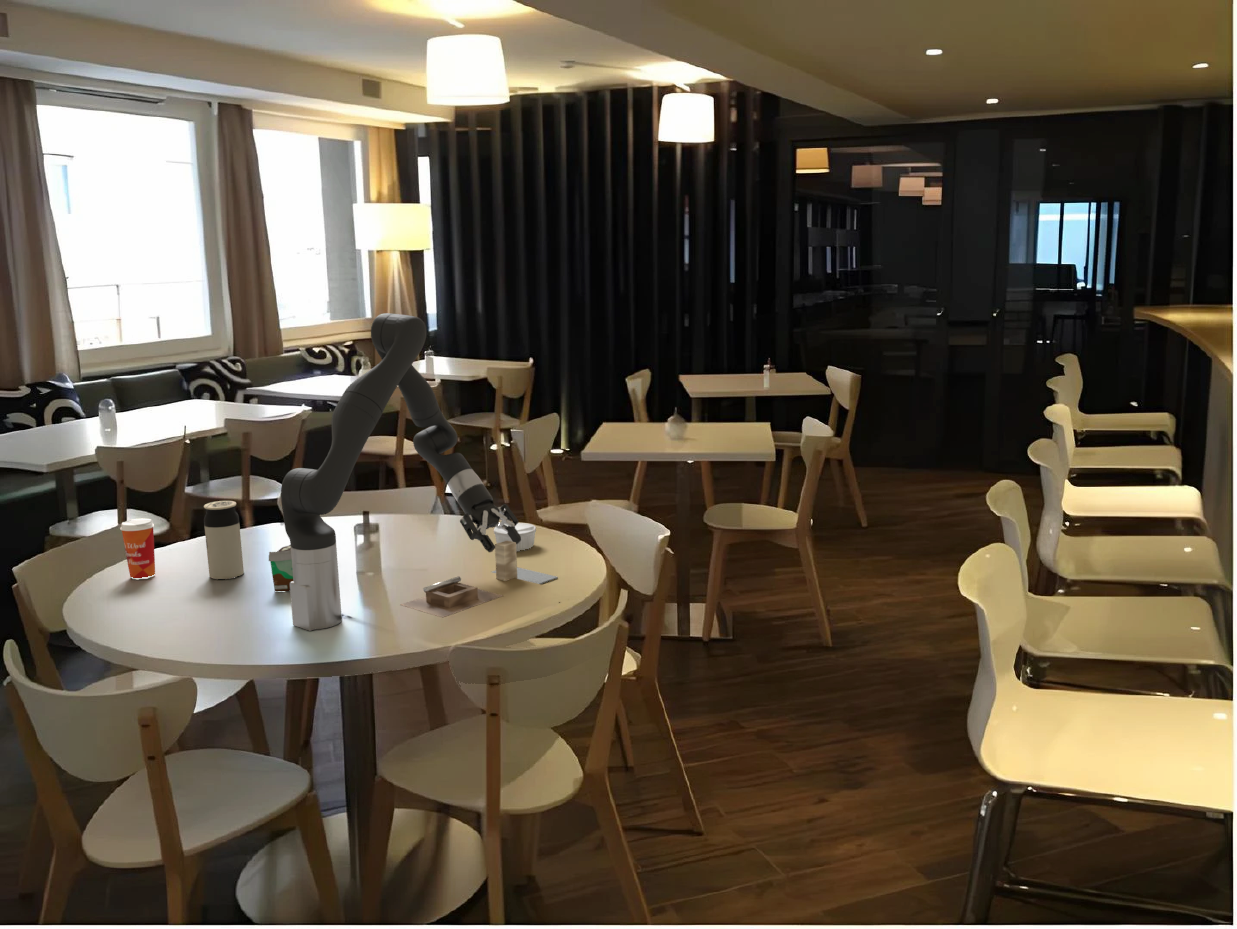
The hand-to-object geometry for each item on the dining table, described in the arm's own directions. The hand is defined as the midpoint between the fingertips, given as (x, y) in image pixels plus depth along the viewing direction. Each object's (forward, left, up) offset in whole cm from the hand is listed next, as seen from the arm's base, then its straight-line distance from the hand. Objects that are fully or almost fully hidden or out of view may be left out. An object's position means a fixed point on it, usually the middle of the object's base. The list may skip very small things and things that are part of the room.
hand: (505, 546), depth 252 cm
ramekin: (+23, +20, -9) cm, 32 cm away
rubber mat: (0, 0, -9) cm, 9 cm away
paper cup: (-50, +76, -9) cm, 91 cm away
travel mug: (-37, +60, -9) cm, 71 cm away
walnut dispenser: (-19, -2, -9) cm, 21 cm away
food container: (-32, +38, -9) cm, 51 cm away
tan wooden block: (0, 0, -8) cm, 8 cm away
